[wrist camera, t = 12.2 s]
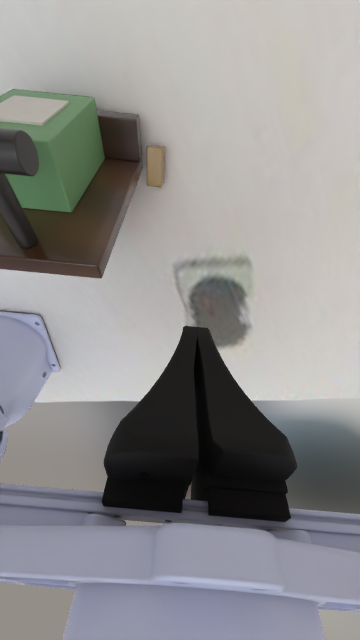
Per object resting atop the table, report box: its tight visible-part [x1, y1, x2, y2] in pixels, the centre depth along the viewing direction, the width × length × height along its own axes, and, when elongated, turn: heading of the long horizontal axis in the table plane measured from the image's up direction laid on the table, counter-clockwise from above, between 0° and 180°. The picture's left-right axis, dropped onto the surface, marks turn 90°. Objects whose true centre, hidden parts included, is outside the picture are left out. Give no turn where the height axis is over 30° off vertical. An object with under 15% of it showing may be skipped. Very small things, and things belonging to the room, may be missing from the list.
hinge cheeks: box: [147, 145, 165, 187], centre depth 16 cm, size 2×12×2 cm, turn 85°
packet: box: [0, 89, 105, 213], centre depth 12 cm, size 6×4×3 cm
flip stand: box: [0, 110, 142, 278], centre depth 12 cm, size 11×9×5 cm
